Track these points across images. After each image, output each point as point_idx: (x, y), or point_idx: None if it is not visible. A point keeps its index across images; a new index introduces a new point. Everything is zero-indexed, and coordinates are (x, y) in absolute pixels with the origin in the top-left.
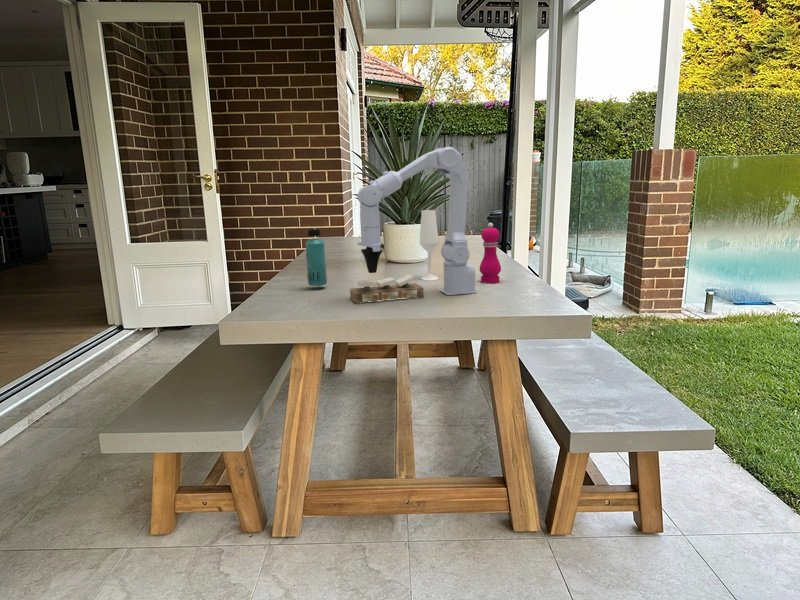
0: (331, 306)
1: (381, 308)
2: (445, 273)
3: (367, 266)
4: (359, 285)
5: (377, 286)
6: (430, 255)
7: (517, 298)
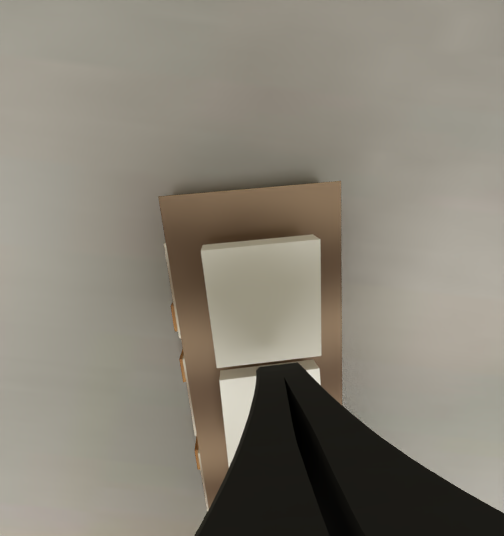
0: (144, 39)
1: (41, 313)
2: None
3: (293, 395)
4: (232, 242)
5: (336, 354)
6: None
7: None
